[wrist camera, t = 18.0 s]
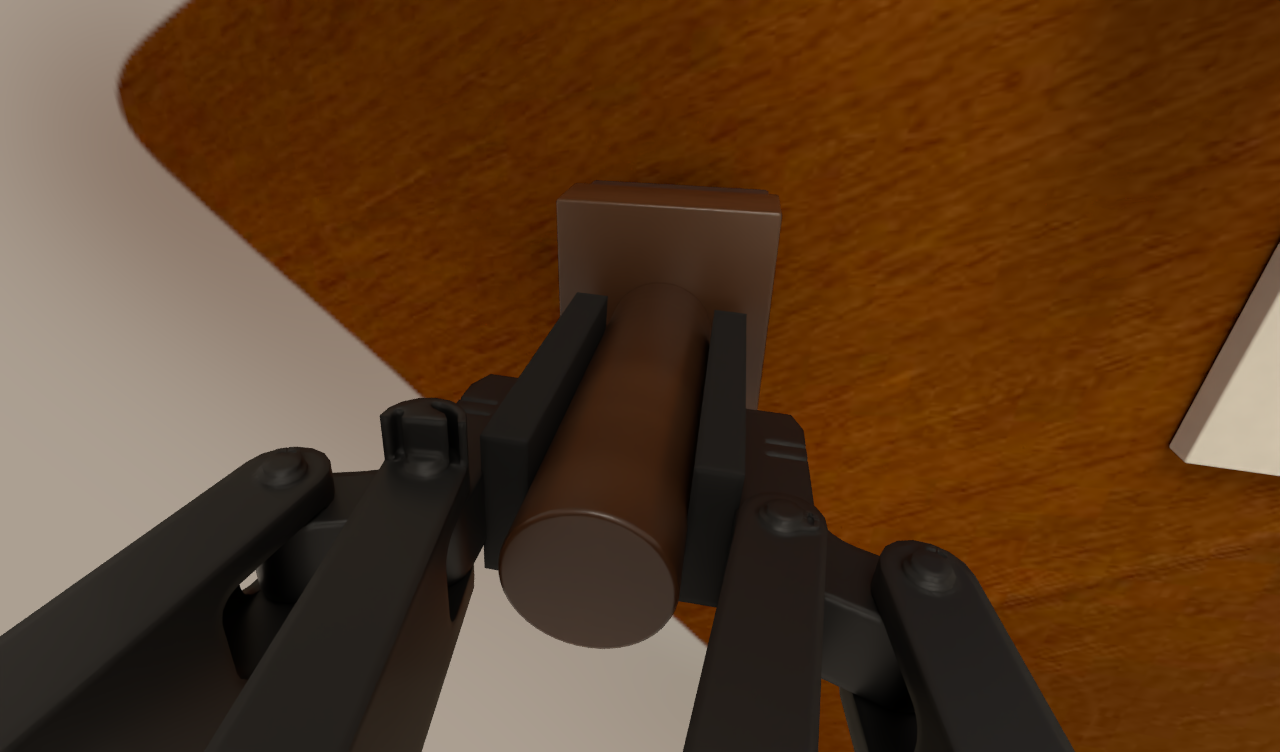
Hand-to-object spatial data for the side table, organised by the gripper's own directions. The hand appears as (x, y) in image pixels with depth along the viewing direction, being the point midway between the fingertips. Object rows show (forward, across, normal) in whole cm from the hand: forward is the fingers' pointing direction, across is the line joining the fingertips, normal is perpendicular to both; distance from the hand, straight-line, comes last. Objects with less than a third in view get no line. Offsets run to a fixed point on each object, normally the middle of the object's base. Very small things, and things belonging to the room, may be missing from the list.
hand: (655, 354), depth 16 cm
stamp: (+5, 0, 0) cm, 5 cm away
